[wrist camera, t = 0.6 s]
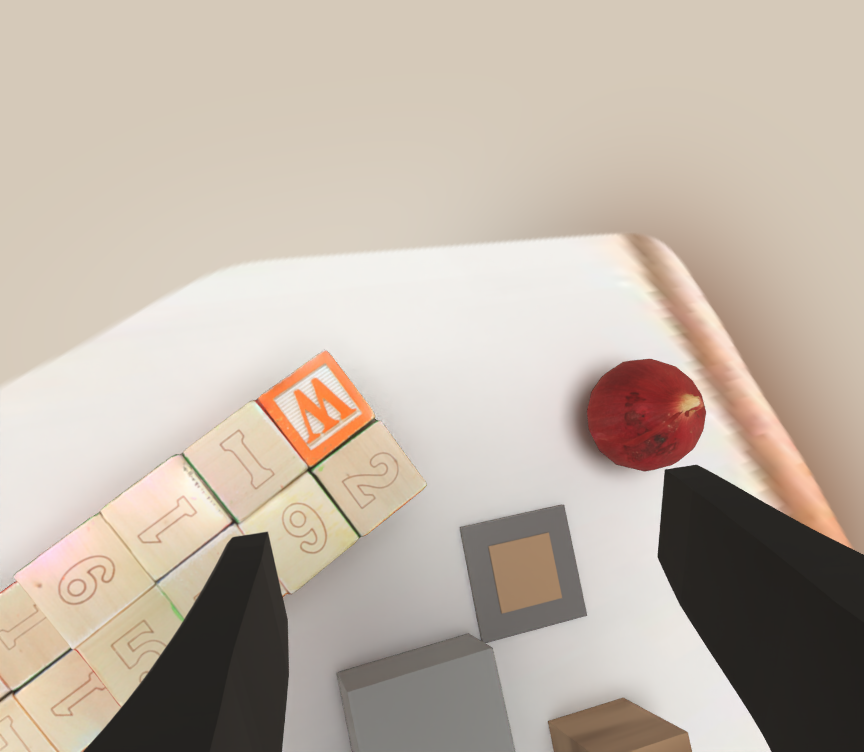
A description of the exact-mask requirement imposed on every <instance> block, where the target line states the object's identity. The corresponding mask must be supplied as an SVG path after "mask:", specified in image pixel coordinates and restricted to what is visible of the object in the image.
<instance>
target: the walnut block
mask: <svg viewBox="0 0 864 752" xmlns="http://www.w3.org/2000/svg"><path fill="white" fill-rule="evenodd" d="M548 724H549V729H550V734H551V739H552V744H553V749H554V752H692V749H691V745H690V740H689V736H688V732H686V731H685V730H683V729H681V728H679V727H677V726H675V725H673V724H671V723H670V722H668V721H666V720H664V719H662V718H660V717H658V716H656V715H655V714H653V713H651V712H649V711H647V710H645V709H643V708H641V707H640V706H638V705H636V704H634V703H632V702H630V701H628V700H626V699H625V698H621V699H618V700H614V701H611V702H608V703H605V704H601V705H598V706H595V707H592V708H589V709H585V710H582V711H579V712H576V713H572V714H569V715H566V716H563V717H560V718H556V719H553V720H550V721H548Z"/></svg>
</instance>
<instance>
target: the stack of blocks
mask: <svg viewBox="0 0 864 752" xmlns="http://www.w3.org/2000/svg"><path fill="white" fill-rule="evenodd" d="M426 486H427V483H426V481H425V480H424V479H423V477H422V476H421V475H420V473H419V472H418V471H417V469H416V468H415V467H414V465H413V464H412V463H411V461H410V460H409V458H408V457H407V456H406V454H405V453H404V452H403V450H402V449H401V448H400V446H399V445H398V443H397V442H396V441H395V439H394V438H393V437H392V435H391V434H390V432H389V431H388V430H387V428H386V427H385V425H384V424H383V423H382V422H381V421H378V420H376V419H375V414H374V412H373V411H372V409H371V408H370V406H369V405H368V403H367V402H366V401H365V399H364V398H363V397H362V395H361V394H360V393H359V391H358V390H357V389H356V387H355V386H354V385H353V383H352V382H351V381H350V379H349V378H348V377H347V375H346V374H345V373H344V371H343V370H342V369H341V368H340V366H339V365H338V364H337V362H336V361H335V360H334V358H333V357H332V356H331V355H330V354H329V352H328V351H327V350H323V351H322V352H320V353H319V354H318V355H316V356H315V357H313V358H312V359H311V360H309V361H308V362H306V363H305V364H304V365H302V366H301V367H300V368H298V369H297V370H296V371H294V372H293V373H291V374H290V375H289V376H287V377H286V378H284V379H283V380H282V381H280V382H279V383H277V384H276V385H275V386H273V387H272V388H270V389H269V390H268V391H266V392H265V393H263V394H262V395H261V396H260V397H259V398H258V399H257V400H253V401H250V402H249V403H247V404H246V405H245V406H243V407H242V408H240V409H239V410H238V411H236V412H235V413H234V414H232V415H231V416H230V417H228V418H227V419H226V420H224V421H223V422H222V423H220V424H219V425H218V426H216V427H215V428H214V429H212V430H211V431H210V432H208V433H207V434H206V435H204V436H203V437H202V438H200V439H199V440H198V441H196V442H195V443H194V444H192V445H191V446H190V447H188V448H187V449H186V450H185V451H184V452H183V453H182V454H179V455H177V454H176V455H174V456H172V457H170V458H169V459H167V460H166V461H165V462H163V463H162V464H160V465H159V466H158V467H156V468H155V469H154V470H153V471H151V472H150V473H149V474H147V475H146V476H145V477H143V478H142V479H140V480H139V481H138V482H136V483H135V484H134V485H132V486H131V487H130V488H128V489H127V490H126V491H124V492H123V493H122V494H120V495H119V496H118V497H116V498H115V499H113V500H112V501H111V502H109V503H108V504H107V505H106V506H105V507H104V508H103V509H102V510H101V511H100V512H99V513H98V514H96V515H94V516H93V517H91V518H89V519H88V520H87V521H85V522H84V523H83V524H81V525H80V526H79V527H77V528H76V529H75V530H73V531H72V532H71V533H69V534H68V535H67V536H65V537H64V538H62V539H61V540H60V541H58V542H57V543H56V544H54V545H53V546H52V547H50V548H49V549H47V550H46V551H45V552H43V553H42V554H41V555H39V556H38V557H37V558H35V559H34V560H33V561H31V562H30V563H29V564H27V565H26V566H25V567H23V568H22V569H20V570H19V571H18V572H16V573H15V574H14V576H13V577H14V578H15V580H16V582H14V583H13V584H11V585H10V586H9V587H7V588H6V589H4V590H3V591H2V592H0V752H83V751H84V750H85V749H86V748H87V747H88V745H89V744H90V743H91V742H92V741H93V740H94V739H95V738H96V737H97V735H98V734H99V733H100V732H101V731H102V730H103V729H104V728H105V726H106V725H107V724H108V723H109V722H110V720H111V719H112V718H113V717H114V716H115V714H116V713H117V712H118V711H119V710H120V708H121V707H122V706H123V705H124V703H125V702H126V701H127V700H128V698H129V697H130V696H131V695H132V693H133V692H134V691H135V689H136V688H137V687H138V685H139V684H140V683H141V681H142V680H143V679H144V678H145V676H146V675H147V673H148V672H149V671H150V669H151V668H152V666H153V665H154V663H155V662H156V661H157V659H158V658H159V656H160V655H161V653H162V652H163V650H164V649H165V648H166V646H167V645H168V643H169V642H170V640H171V639H172V638H173V636H174V634H175V633H176V631H177V630H178V628H179V627H180V625H181V624H182V622H183V620H184V619H185V617H186V615H187V614H188V612H189V611H190V609H191V607H192V606H193V604H194V602H195V601H196V599H197V598H198V596H199V594H200V592H201V591H202V589H203V587H204V585H205V584H206V582H207V580H208V578H209V577H210V575H211V573H212V571H213V569H214V567H215V566H216V564H217V562H218V560H219V558H220V556H221V554H222V552H223V550H224V548H225V546H226V544H227V543H228V542H229V541H230V539H231V538H232V537H236V536H243V535H249V534H255V533H262V532H268V534H269V538H270V543H271V547H272V552H273V556H274V561H275V565H276V570H277V574H278V579H279V583H280V588H281V592H282V597H283V596H285V595H286V594H293V593H294V592H296V591H297V590H298V589H299V588H301V587H302V586H303V585H304V584H306V583H307V582H308V581H309V580H310V579H312V578H313V577H314V576H315V575H316V574H318V573H319V572H320V571H321V570H322V569H324V568H325V567H326V566H327V565H328V564H330V563H331V562H332V561H333V560H335V559H336V558H337V557H338V556H340V555H341V554H342V553H343V552H345V551H346V550H347V549H348V548H350V547H351V546H352V545H353V544H355V543H356V541H357V540H358V539H359V538H360V537H363V536H365V535H367V534H368V533H370V532H371V531H372V530H373V529H375V528H376V527H377V526H378V525H380V524H381V523H382V522H383V521H385V520H386V519H387V518H388V517H390V516H391V515H392V514H393V513H395V512H396V511H397V510H398V509H400V508H401V507H402V506H403V505H405V504H406V503H407V502H408V501H410V500H411V499H412V498H413V497H415V496H416V495H417V494H418V493H419V492H421V491H422V490H423V489H424V488H425V487H426Z"/></svg>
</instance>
